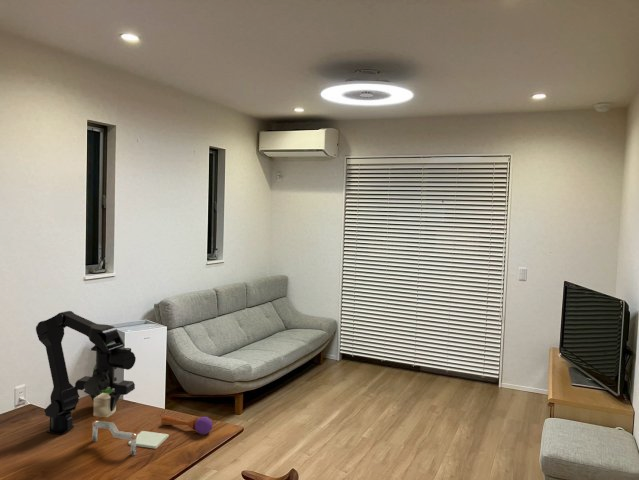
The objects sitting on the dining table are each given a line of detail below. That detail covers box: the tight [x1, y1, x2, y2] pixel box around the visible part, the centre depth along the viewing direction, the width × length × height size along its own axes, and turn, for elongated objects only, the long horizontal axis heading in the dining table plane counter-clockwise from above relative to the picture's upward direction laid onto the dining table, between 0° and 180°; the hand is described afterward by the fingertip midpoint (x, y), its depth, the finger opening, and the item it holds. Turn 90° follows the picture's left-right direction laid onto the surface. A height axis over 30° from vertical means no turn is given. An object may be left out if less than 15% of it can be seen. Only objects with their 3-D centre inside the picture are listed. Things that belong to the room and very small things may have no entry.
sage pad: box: [127, 430, 169, 450], centre depth 174 cm, size 10×9×1 cm
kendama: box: [160, 415, 213, 435], centre depth 184 cm, size 6×6×20 cm
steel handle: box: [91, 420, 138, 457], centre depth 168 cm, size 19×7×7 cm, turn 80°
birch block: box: [93, 393, 117, 418], centre depth 170 cm, size 5×5×6 cm
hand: (104, 410), depth 171 cm, fingers closed on birch block, 5 cm apart
